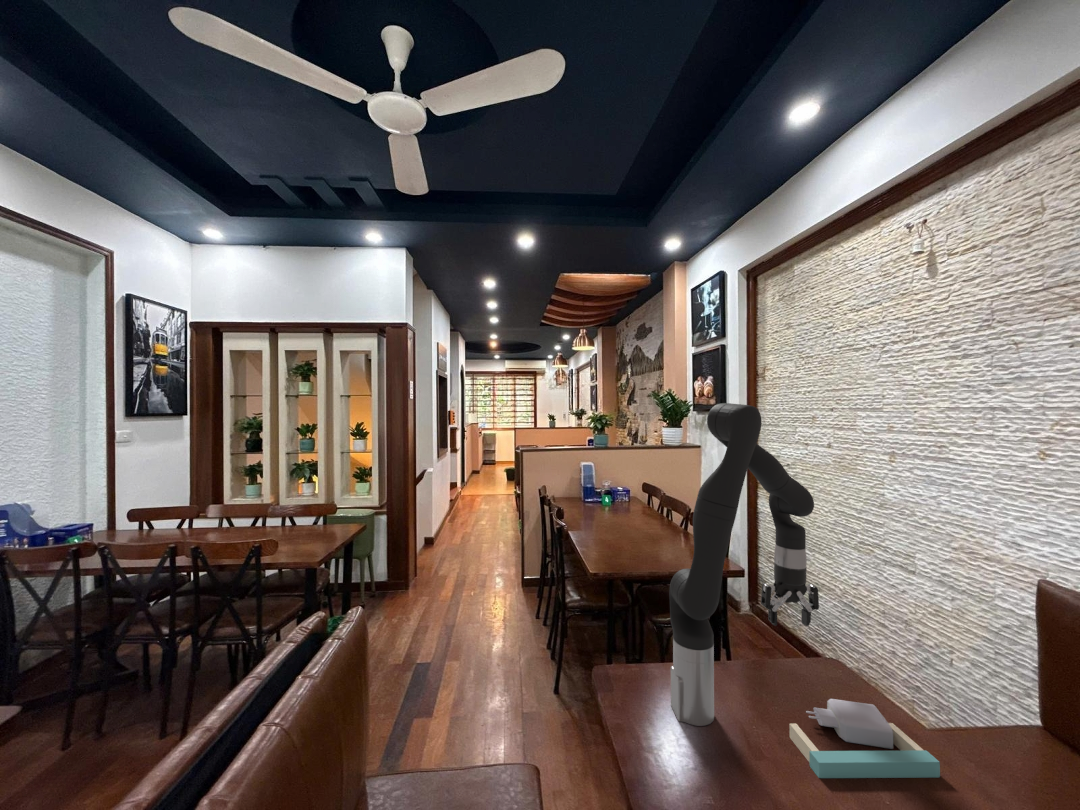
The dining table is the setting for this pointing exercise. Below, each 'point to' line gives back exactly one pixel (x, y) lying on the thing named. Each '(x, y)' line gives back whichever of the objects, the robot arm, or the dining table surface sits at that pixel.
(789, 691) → the dining table surface
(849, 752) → the stop bay
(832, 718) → the charger
